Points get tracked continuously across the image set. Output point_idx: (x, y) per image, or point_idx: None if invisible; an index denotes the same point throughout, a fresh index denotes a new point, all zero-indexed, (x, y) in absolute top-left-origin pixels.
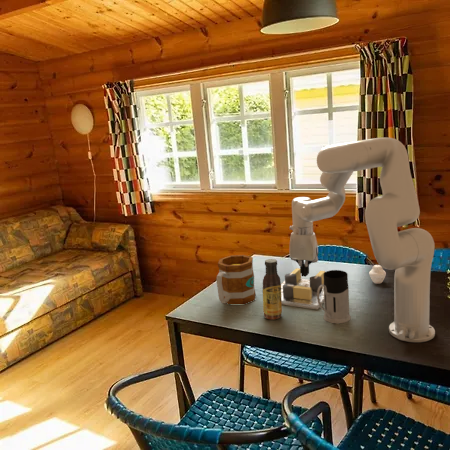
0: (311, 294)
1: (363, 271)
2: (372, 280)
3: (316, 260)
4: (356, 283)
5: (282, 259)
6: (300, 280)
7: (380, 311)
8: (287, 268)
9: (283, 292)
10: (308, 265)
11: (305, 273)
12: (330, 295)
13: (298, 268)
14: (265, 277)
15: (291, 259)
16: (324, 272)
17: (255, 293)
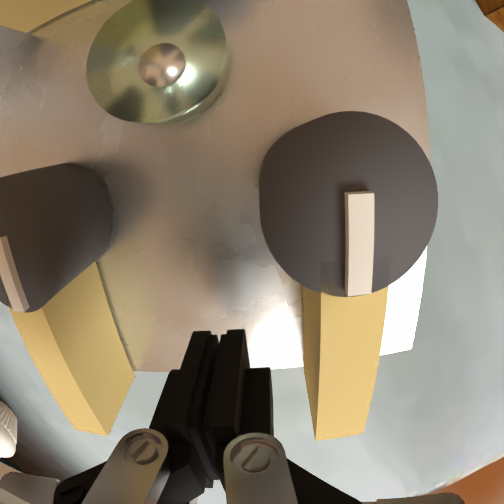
0: (7, 23)
1: None
2: (3, 409)
3: (3, 489)
4: (31, 394)
5: (454, 474)
6: (291, 335)
7: None
8: (432, 444)
9: None
10: (122, 454)
11: (187, 358)
12: None
13: (338, 436)
14: None
15: (448, 496)
16: (70, 413)
17: (490, 12)
